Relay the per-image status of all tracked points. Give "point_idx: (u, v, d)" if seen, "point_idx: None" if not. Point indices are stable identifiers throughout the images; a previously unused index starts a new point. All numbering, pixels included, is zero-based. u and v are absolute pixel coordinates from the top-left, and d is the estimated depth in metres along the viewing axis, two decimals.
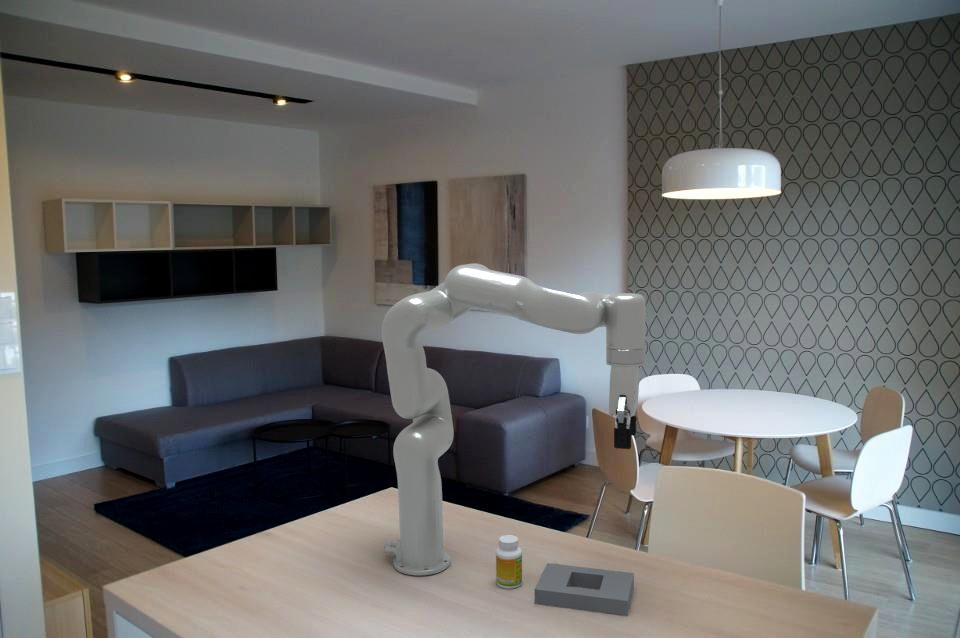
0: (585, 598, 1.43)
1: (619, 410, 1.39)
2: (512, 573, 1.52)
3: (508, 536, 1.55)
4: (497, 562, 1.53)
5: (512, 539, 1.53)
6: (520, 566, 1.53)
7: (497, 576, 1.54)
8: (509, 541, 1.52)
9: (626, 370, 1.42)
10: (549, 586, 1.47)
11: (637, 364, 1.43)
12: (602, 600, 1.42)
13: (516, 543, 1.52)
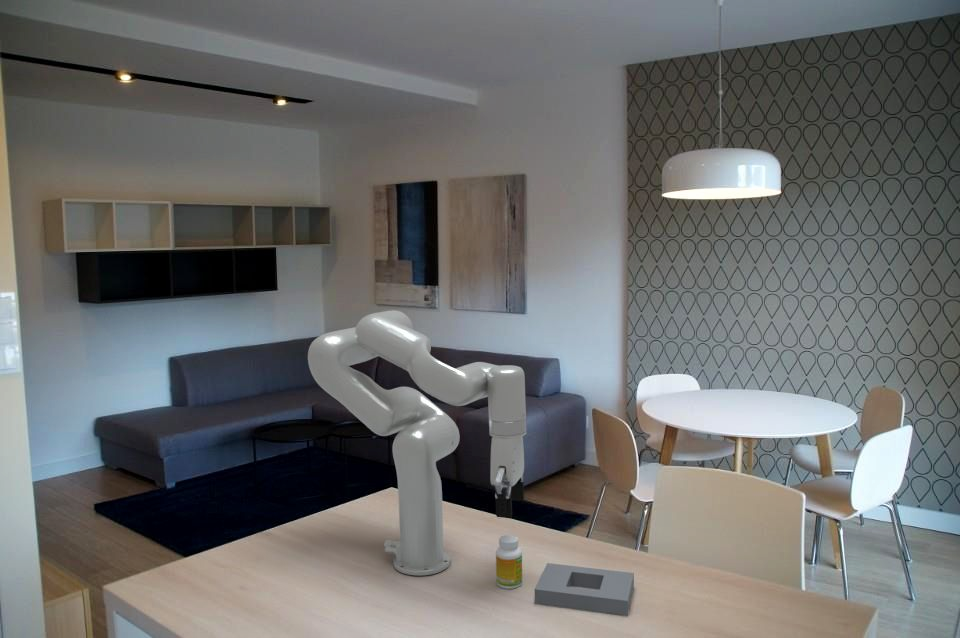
0: (585, 598, 1.43)
1: (496, 482, 1.44)
2: (512, 573, 1.52)
3: (508, 536, 1.55)
4: (497, 562, 1.53)
5: (512, 539, 1.53)
6: (520, 566, 1.53)
7: (497, 576, 1.54)
8: (509, 541, 1.52)
9: (505, 442, 1.47)
10: (549, 586, 1.47)
11: (516, 435, 1.48)
12: (602, 600, 1.42)
13: (516, 543, 1.52)
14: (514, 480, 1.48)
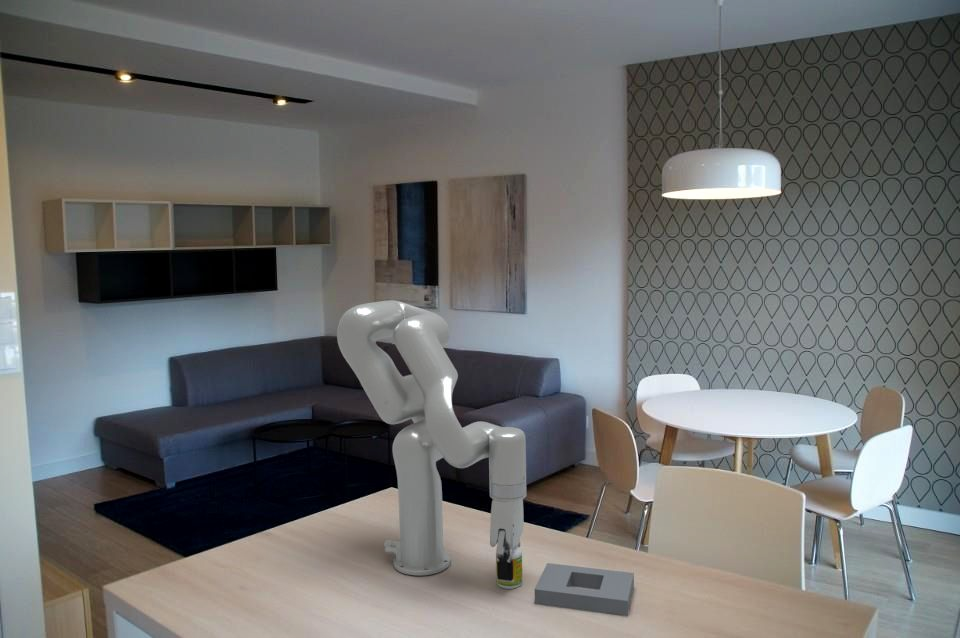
0: (585, 598, 1.43)
1: (497, 552, 1.47)
2: None
3: None
4: None
5: None
6: (520, 566, 1.53)
7: None
8: None
9: (505, 505, 1.48)
10: (549, 586, 1.47)
11: (516, 498, 1.49)
12: (602, 600, 1.42)
13: (516, 543, 1.52)
14: (513, 542, 1.49)
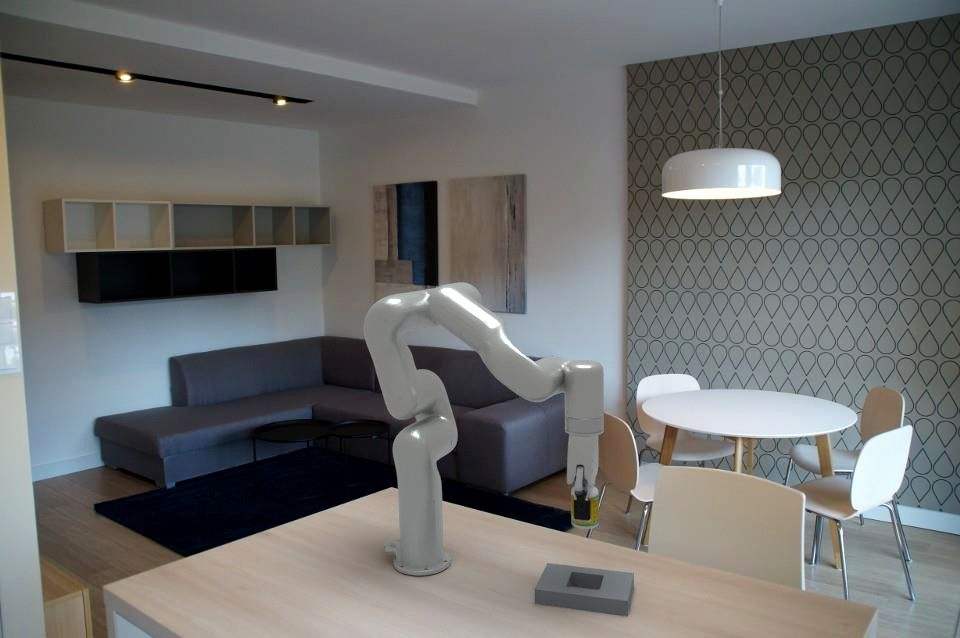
0: (585, 598, 1.43)
1: (576, 489, 1.39)
2: None
3: None
4: (573, 501, 1.46)
5: None
6: (597, 506, 1.46)
7: (573, 516, 1.46)
8: None
9: (584, 440, 1.41)
10: (549, 586, 1.47)
11: (595, 433, 1.42)
12: (602, 600, 1.42)
13: None
14: (592, 479, 1.42)
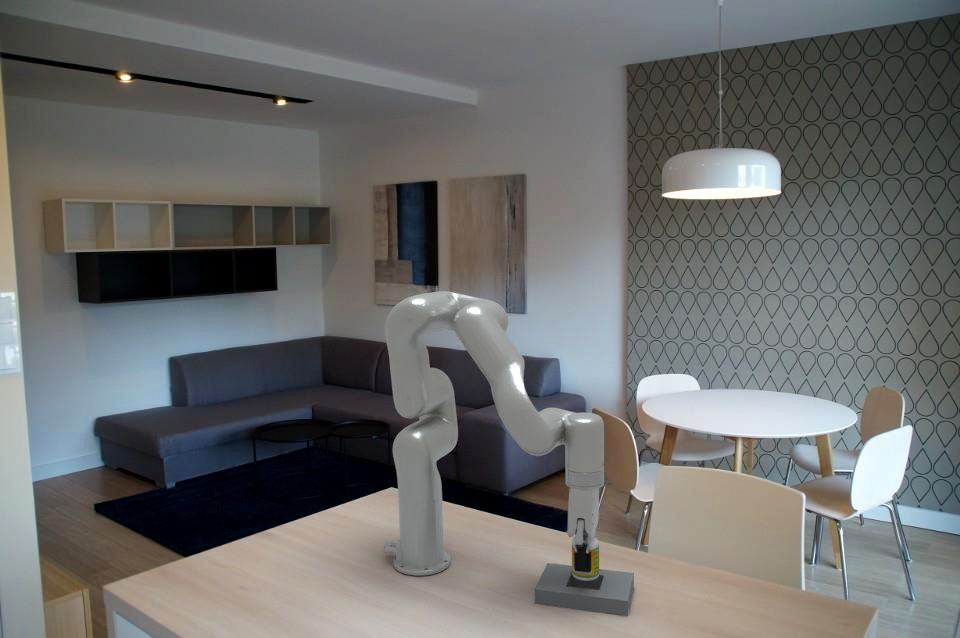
0: (585, 598, 1.43)
1: (577, 542, 1.40)
2: None
3: None
4: None
5: None
6: (598, 557, 1.47)
7: (573, 568, 1.47)
8: None
9: (584, 494, 1.42)
10: (549, 586, 1.47)
11: (595, 486, 1.43)
12: (602, 600, 1.42)
13: (594, 533, 1.46)
14: (592, 532, 1.43)
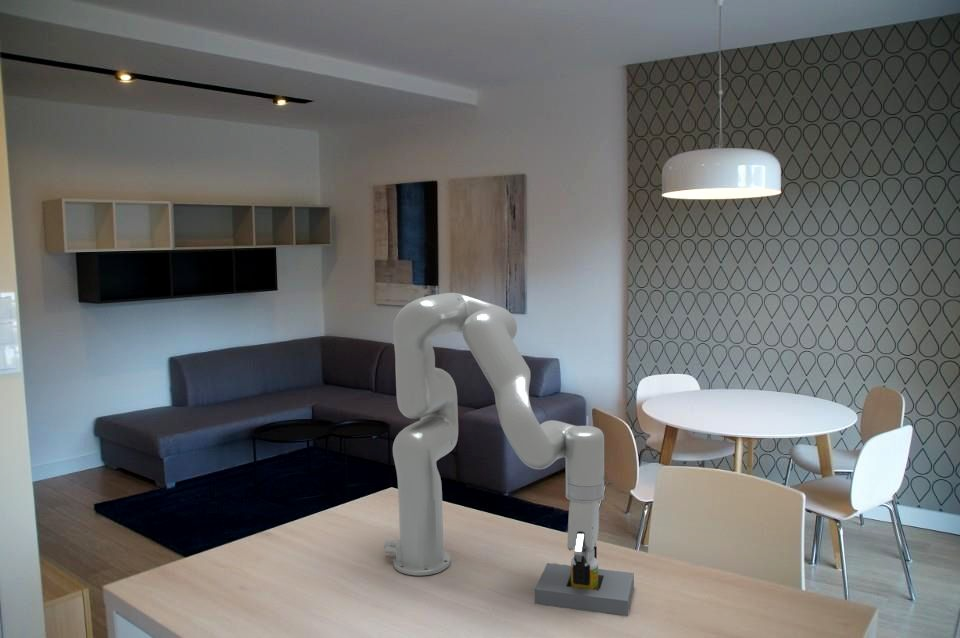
0: (585, 598, 1.43)
1: (576, 552, 1.40)
2: (589, 585, 1.46)
3: (583, 546, 1.49)
4: None
5: None
6: (597, 577, 1.47)
7: None
8: None
9: (584, 507, 1.42)
10: (549, 586, 1.47)
11: (595, 500, 1.43)
12: (602, 600, 1.42)
13: (593, 553, 1.47)
14: (592, 546, 1.43)
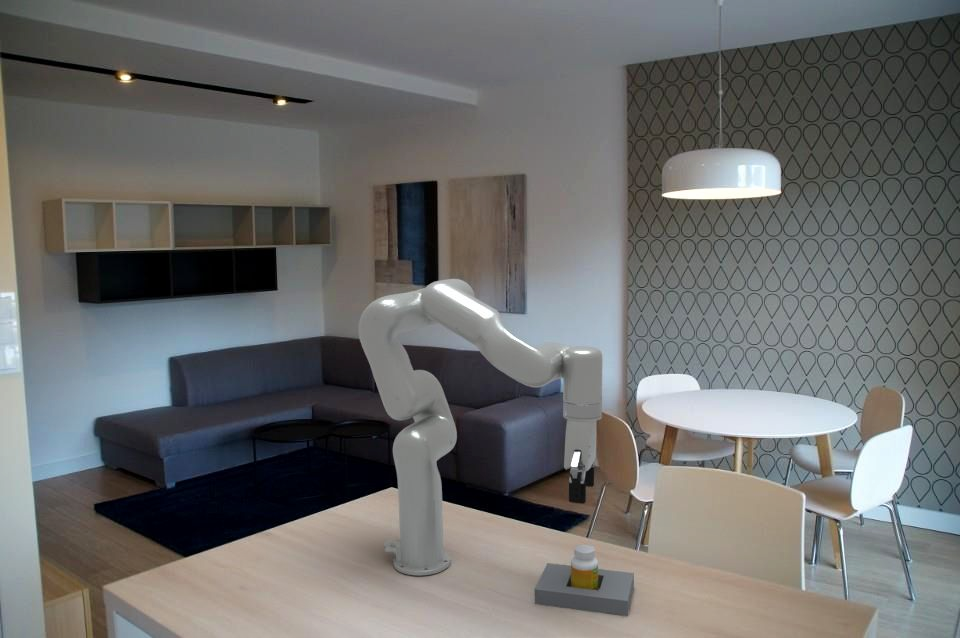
0: (585, 598, 1.43)
1: (572, 466, 1.39)
2: (589, 585, 1.46)
3: (583, 546, 1.49)
4: (573, 573, 1.48)
5: (589, 549, 1.48)
6: (597, 577, 1.47)
7: None
8: (585, 551, 1.47)
9: (581, 425, 1.42)
10: (549, 586, 1.47)
11: (593, 419, 1.43)
12: (602, 600, 1.42)
13: (593, 553, 1.47)
14: (589, 465, 1.43)
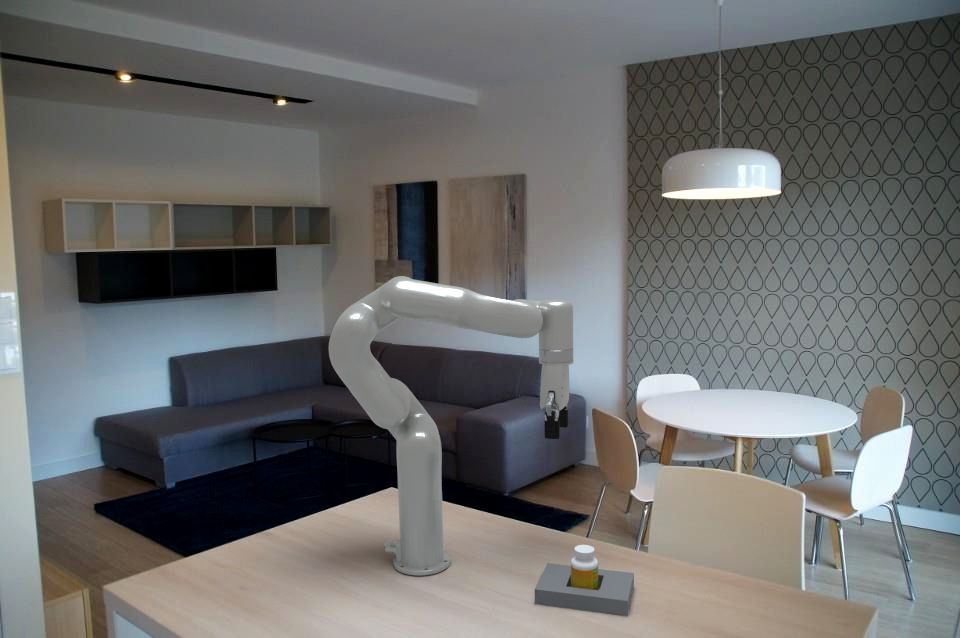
0: (585, 598, 1.43)
1: (547, 404, 1.56)
2: (589, 585, 1.46)
3: (583, 546, 1.49)
4: (573, 573, 1.48)
5: (589, 549, 1.48)
6: (597, 577, 1.47)
7: None
8: (586, 551, 1.47)
9: (555, 369, 1.58)
10: (549, 586, 1.47)
11: (565, 363, 1.59)
12: (602, 600, 1.42)
13: (593, 553, 1.47)
14: (562, 404, 1.60)
